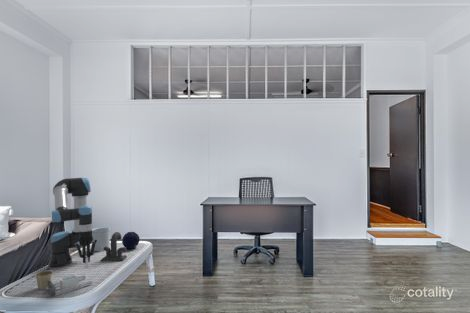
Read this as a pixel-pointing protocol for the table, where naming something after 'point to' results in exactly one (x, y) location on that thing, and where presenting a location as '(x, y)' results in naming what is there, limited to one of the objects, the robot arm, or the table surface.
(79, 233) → the robot arm
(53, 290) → the rail
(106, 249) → the faucet
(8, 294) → the table surface
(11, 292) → the table surface
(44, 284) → the flower pot
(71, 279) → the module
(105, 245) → the utensil holder
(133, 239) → the decorative orb
